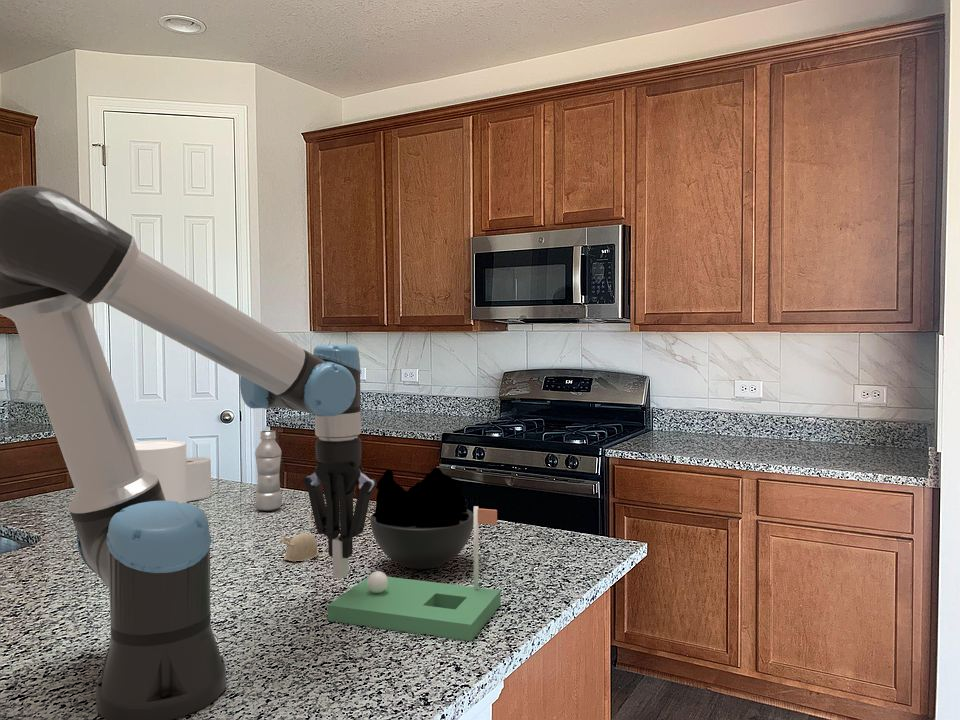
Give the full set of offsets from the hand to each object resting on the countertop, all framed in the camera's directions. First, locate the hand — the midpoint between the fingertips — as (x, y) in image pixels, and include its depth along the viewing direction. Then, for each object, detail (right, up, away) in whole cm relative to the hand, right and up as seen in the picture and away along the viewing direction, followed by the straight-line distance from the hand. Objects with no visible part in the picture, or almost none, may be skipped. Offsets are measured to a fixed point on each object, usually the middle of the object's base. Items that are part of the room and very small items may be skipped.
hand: (340, 575), depth 124 cm
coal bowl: (+12, -4, +18) cm, 23 cm away
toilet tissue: (-55, -1, +76) cm, 94 cm away
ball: (+7, 0, -2) cm, 7 cm away
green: (+13, -5, -4) cm, 15 cm away
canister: (-50, -3, +41) cm, 65 cm away
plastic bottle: (-30, -2, +62) cm, 69 cm away
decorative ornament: (-13, -4, +23) cm, 27 cm away
